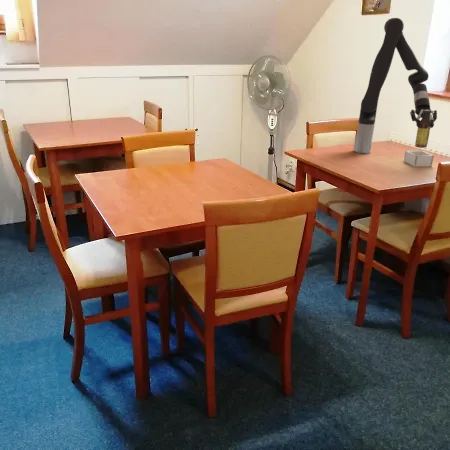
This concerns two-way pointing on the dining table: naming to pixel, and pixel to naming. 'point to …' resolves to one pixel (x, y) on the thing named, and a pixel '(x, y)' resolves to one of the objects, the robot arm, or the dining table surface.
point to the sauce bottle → (423, 130)
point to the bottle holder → (418, 158)
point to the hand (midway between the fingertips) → (425, 126)
